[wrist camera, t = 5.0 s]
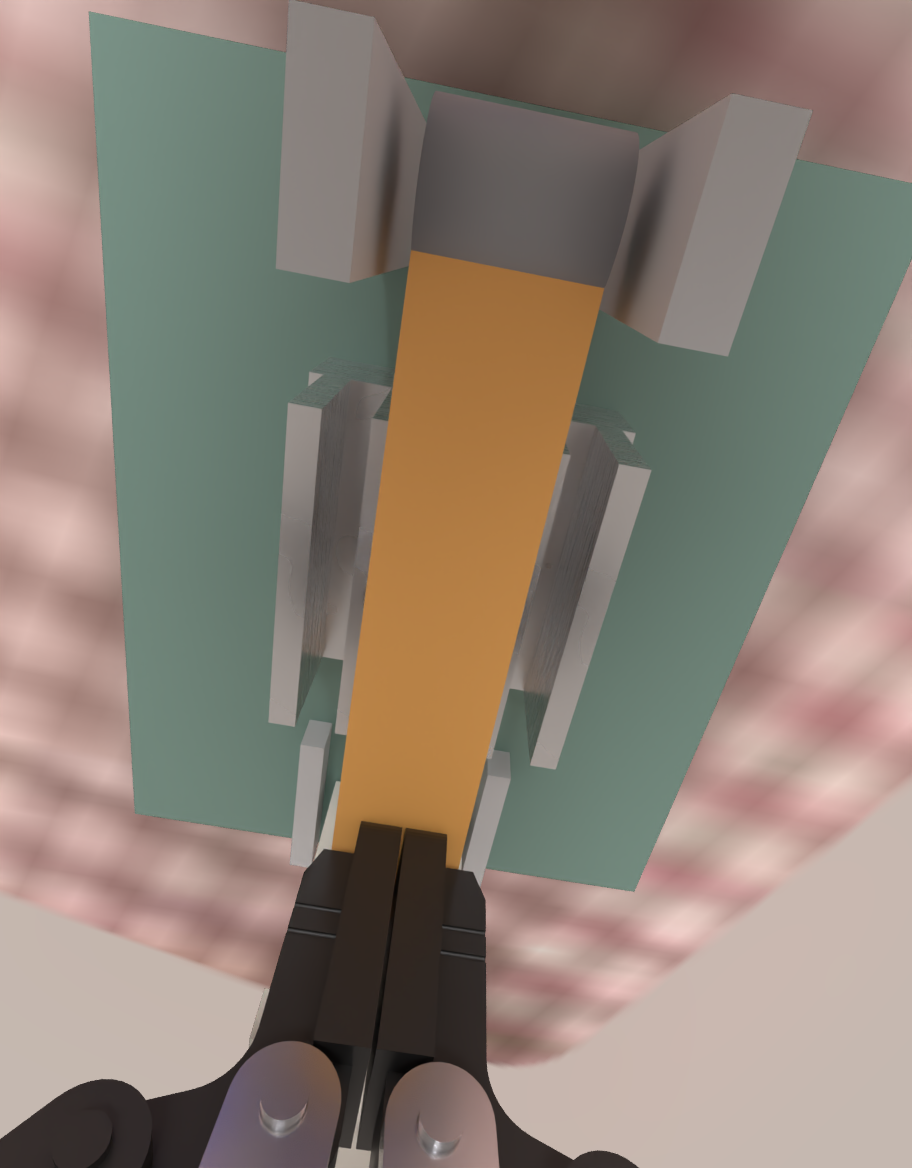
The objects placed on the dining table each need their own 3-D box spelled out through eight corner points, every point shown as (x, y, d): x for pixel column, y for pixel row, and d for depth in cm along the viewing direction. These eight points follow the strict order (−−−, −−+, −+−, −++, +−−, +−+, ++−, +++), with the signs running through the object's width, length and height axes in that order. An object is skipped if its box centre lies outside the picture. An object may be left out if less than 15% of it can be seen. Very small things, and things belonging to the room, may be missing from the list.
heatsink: (329, 356, 14) (271, 399, 10) (618, 411, 14) (667, 473, 10) (307, 610, 16) (254, 720, 13) (549, 652, 17) (568, 771, 13)
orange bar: (441, 109, 8) (432, 70, 6) (618, 145, 8) (652, 117, 7) (339, 844, 13) (319, 924, 12) (447, 861, 14) (443, 942, 12)
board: (117, 28, 12) (-439, -299, 5) (910, 193, 13) (1476, 126, 5) (149, 788, 21) (-36, 1090, 13) (627, 864, 21) (703, 1191, 14)
